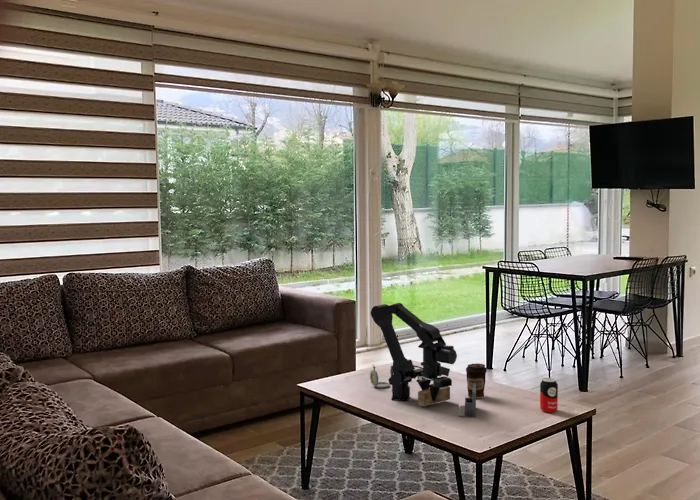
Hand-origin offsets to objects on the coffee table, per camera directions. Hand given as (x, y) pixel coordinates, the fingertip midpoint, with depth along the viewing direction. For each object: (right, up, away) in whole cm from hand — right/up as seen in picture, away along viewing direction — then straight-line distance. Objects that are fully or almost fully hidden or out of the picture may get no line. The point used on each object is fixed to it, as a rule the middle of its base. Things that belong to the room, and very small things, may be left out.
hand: (430, 399), depth 265 cm
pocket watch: (-19, -1, +27) cm, 33 cm away
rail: (+2, -1, +1) cm, 2 cm away
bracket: (+13, -3, -8) cm, 16 cm away
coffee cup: (+20, -1, +11) cm, 23 cm away
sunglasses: (-5, +1, +43) cm, 43 cm away
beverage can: (+44, -3, -8) cm, 44 cm away
